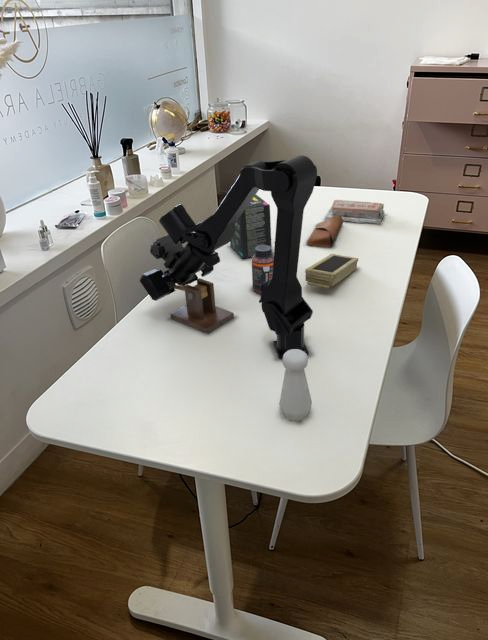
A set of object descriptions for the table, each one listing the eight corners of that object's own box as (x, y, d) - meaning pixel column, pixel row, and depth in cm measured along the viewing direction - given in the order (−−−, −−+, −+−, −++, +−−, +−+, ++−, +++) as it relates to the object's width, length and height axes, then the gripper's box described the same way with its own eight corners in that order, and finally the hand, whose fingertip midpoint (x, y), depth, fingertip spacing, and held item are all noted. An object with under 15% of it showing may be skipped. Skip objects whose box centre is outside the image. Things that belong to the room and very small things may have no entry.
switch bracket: (170, 318, 132) (166, 284, 127) (197, 303, 138) (194, 271, 133) (207, 334, 126) (203, 299, 121) (234, 318, 131) (231, 284, 127)
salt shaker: (310, 403, 104) (311, 343, 97) (313, 423, 99) (314, 362, 92) (278, 404, 104) (277, 345, 97) (280, 424, 99) (279, 363, 92)
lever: (158, 292, 135) (155, 278, 134) (169, 286, 138) (166, 273, 136) (199, 302, 127) (196, 288, 125) (210, 296, 129) (208, 282, 127)
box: (302, 288, 140) (304, 269, 138) (331, 267, 159) (333, 250, 156) (334, 294, 137) (336, 275, 135) (360, 272, 156) (362, 254, 153)
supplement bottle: (273, 295, 140) (272, 253, 134) (250, 294, 141) (248, 252, 135) (278, 284, 145) (277, 243, 139) (255, 283, 146) (253, 242, 140)
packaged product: (386, 200, 184) (381, 210, 176) (384, 214, 186) (380, 225, 179) (331, 196, 189) (325, 205, 181) (331, 210, 192) (324, 220, 184)
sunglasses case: (316, 222, 180) (327, 205, 177) (334, 234, 181) (346, 218, 177) (305, 244, 166) (317, 226, 162) (325, 257, 167) (337, 239, 163)
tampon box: (272, 254, 162) (271, 204, 154) (242, 259, 159) (239, 209, 151) (258, 241, 171) (256, 193, 163) (229, 246, 168) (226, 198, 160)
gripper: (200, 216, 130) (173, 249, 142) (138, 241, 119) (114, 275, 131) (228, 255, 131) (198, 285, 143) (168, 285, 119) (141, 315, 131)
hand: (164, 289), depth 137 cm, fingers closed on lever, 3 cm apart
